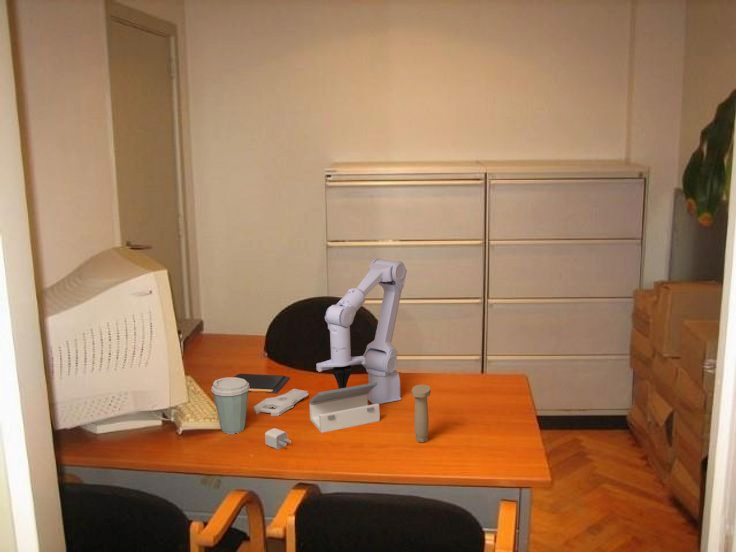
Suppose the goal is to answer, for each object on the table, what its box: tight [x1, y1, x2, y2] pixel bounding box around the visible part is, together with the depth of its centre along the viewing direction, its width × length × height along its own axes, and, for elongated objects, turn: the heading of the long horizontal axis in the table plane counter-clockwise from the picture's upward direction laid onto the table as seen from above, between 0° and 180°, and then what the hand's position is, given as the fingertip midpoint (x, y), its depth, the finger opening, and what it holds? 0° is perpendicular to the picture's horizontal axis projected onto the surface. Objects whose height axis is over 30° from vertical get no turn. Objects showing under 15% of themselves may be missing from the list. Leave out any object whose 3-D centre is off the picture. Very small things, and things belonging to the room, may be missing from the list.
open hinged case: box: [308, 393, 381, 434], centre depth 209 cm, size 18×11×5 cm, turn 113°
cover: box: [308, 382, 378, 404], centre depth 208 cm, size 18×10×1 cm, turn 113°
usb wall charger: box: [264, 427, 292, 450], centre depth 194 cm, size 4×7×4 cm, turn 51°
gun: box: [253, 388, 309, 417], centre depth 222 cm, size 18×4×10 cm
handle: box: [411, 384, 432, 444], centre depth 194 cm, size 5×6×15 cm
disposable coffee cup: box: [211, 376, 250, 435], centre depth 204 cm, size 11×11×15 cm
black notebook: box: [234, 373, 291, 394], centre depth 241 cm, size 20×2×15 cm
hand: (342, 390), depth 209 cm, fingers closed, pressing on cover
